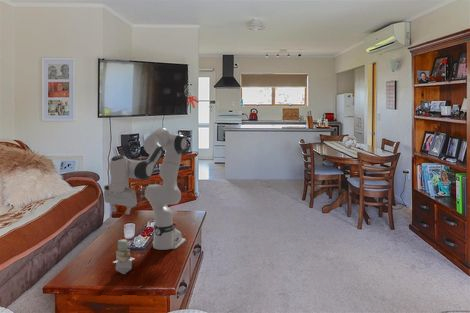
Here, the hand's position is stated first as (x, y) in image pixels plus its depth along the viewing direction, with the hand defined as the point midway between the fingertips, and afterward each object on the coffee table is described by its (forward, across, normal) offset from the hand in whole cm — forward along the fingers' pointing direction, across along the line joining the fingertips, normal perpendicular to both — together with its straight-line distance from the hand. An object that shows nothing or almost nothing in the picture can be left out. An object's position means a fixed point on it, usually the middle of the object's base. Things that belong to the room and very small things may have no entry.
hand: (121, 212), depth 202 cm
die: (+33, 0, 0) cm, 33 cm away
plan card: (+33, +11, -11) cm, 37 cm away
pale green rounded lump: (+20, 0, 0) cm, 21 cm away
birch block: (+26, 0, 0) cm, 26 cm away
